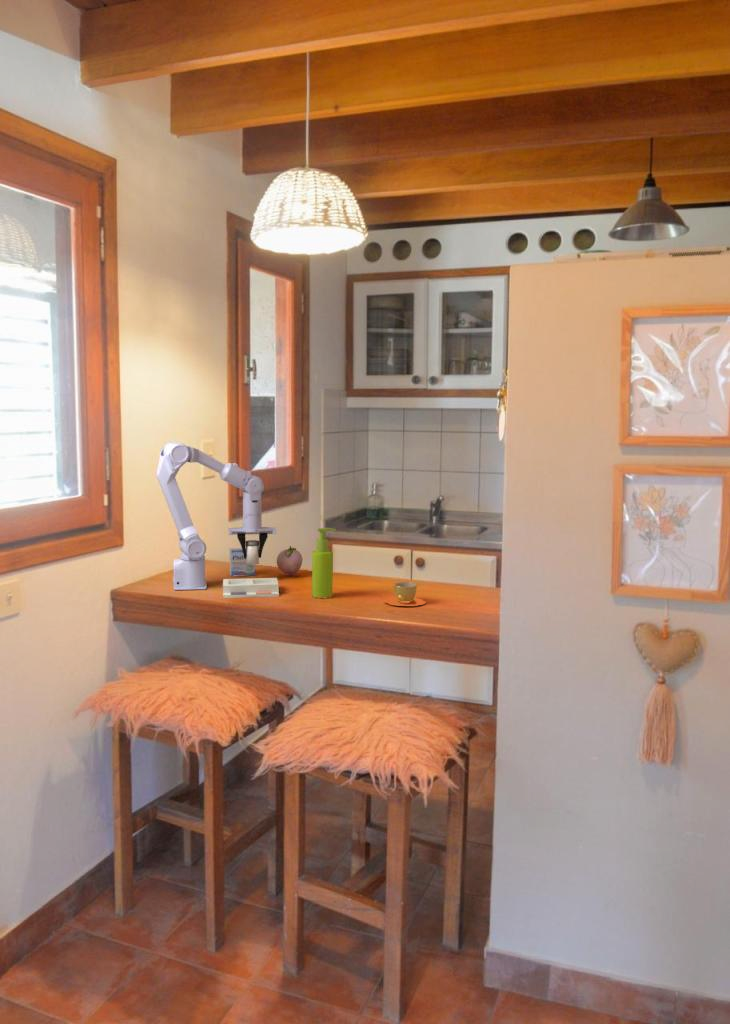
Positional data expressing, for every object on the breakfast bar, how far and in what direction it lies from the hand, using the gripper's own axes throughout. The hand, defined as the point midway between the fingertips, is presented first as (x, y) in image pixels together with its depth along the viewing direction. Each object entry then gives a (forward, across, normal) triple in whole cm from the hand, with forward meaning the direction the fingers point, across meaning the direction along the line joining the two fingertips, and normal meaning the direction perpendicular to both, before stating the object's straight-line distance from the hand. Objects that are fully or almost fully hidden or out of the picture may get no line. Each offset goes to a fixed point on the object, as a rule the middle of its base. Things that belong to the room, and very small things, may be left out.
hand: (252, 557), depth 244 cm
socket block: (+8, -1, -14) cm, 16 cm away
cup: (+8, +42, -31) cm, 53 cm away
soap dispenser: (+8, +20, -21) cm, 30 cm away
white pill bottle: (+2, 0, 0) cm, 2 cm away
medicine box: (+8, -3, +11) cm, 14 cm away
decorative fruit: (+8, +12, +7) cm, 16 cm away
